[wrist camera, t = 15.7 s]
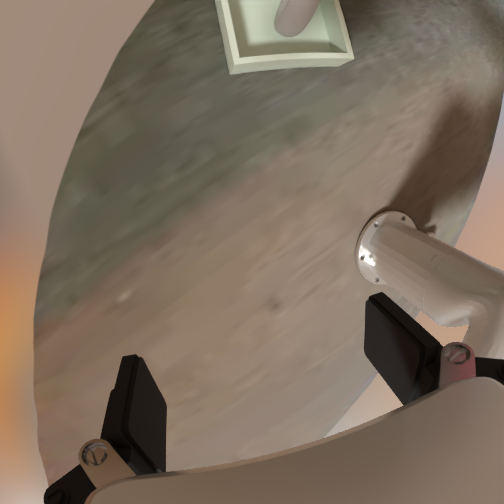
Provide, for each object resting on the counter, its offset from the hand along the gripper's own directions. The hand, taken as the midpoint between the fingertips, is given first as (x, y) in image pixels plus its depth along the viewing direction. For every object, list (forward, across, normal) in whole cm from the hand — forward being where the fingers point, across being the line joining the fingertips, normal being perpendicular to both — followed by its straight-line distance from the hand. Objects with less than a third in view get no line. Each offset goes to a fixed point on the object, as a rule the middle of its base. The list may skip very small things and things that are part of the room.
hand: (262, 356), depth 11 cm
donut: (+30, -14, -25) cm, 42 cm away
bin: (+30, -13, -25) cm, 41 cm away
